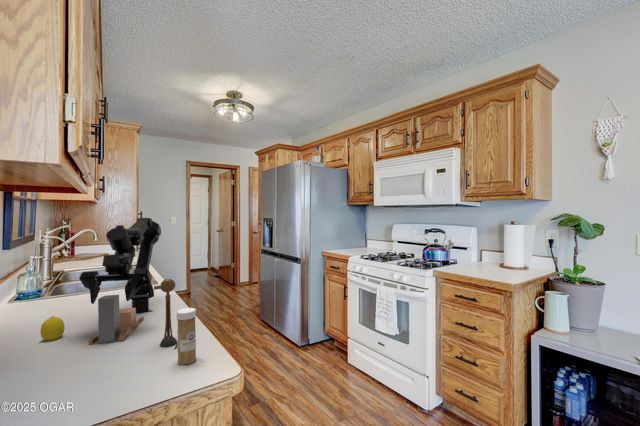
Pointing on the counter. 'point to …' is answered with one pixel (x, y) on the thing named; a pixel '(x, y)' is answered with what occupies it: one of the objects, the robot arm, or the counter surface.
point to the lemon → (52, 328)
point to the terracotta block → (127, 317)
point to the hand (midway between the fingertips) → (109, 301)
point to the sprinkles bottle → (186, 336)
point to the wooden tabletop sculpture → (167, 314)
